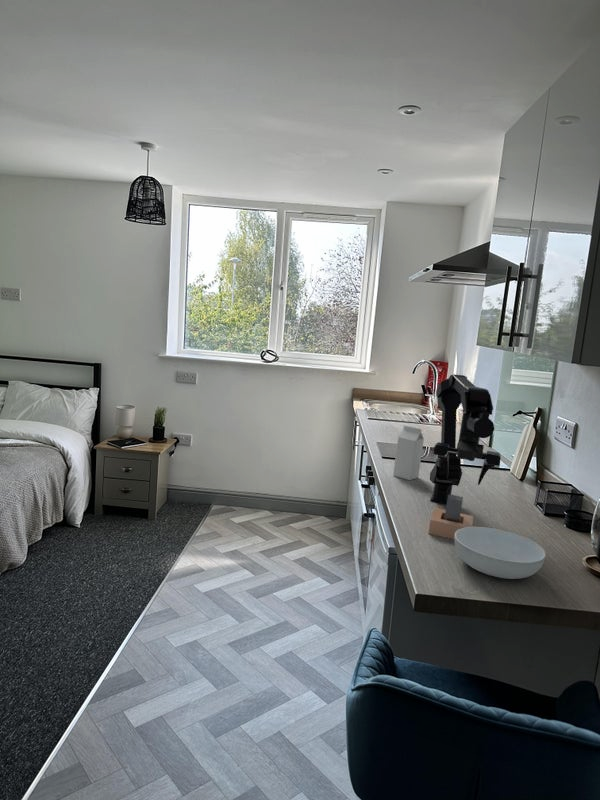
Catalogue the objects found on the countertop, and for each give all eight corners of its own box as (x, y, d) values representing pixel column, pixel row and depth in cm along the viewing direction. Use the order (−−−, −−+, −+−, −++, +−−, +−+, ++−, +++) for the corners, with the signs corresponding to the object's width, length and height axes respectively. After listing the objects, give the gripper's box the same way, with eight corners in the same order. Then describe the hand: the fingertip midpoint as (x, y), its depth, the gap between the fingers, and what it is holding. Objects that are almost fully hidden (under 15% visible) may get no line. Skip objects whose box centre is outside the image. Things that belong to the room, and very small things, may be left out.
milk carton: (410, 480, 201) (417, 430, 198) (392, 475, 205) (399, 426, 202) (418, 477, 207) (425, 428, 204) (401, 472, 211) (408, 424, 208)
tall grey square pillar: (443, 527, 157) (448, 494, 156) (457, 530, 156) (463, 497, 155) (442, 532, 154) (447, 498, 152) (457, 535, 152) (462, 501, 151)
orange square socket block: (432, 520, 162) (434, 508, 161) (471, 529, 158) (473, 516, 158) (428, 533, 151) (430, 519, 151) (469, 542, 148) (471, 528, 147)
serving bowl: (521, 555, 143) (526, 530, 142) (555, 595, 123) (561, 567, 122) (442, 546, 144) (446, 521, 143) (462, 585, 123) (467, 556, 122)
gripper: (435, 429, 156) (427, 482, 158) (504, 440, 150) (495, 495, 152) (439, 423, 166) (431, 473, 169) (503, 434, 161) (495, 485, 163)
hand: (462, 481), depth 163 cm, fingers open, 9 cm apart
